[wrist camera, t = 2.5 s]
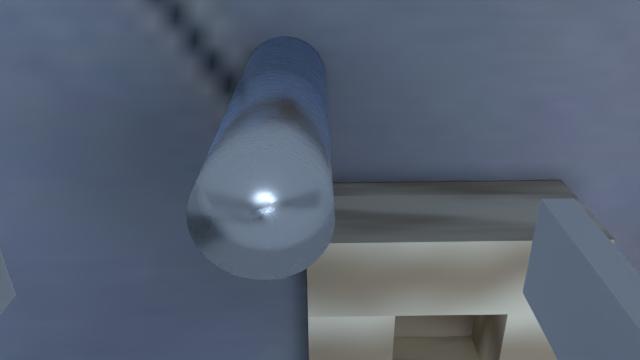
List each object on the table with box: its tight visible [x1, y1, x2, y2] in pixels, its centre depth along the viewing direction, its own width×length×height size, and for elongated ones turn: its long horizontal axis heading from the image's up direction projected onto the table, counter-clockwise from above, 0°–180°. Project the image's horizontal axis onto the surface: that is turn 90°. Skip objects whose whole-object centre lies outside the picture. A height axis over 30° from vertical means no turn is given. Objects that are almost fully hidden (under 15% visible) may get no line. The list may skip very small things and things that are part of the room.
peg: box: [187, 37, 335, 280], centre depth 21 cm, size 4×4×14 cm
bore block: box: [307, 180, 615, 360], centre depth 30 cm, size 14×14×6 cm
